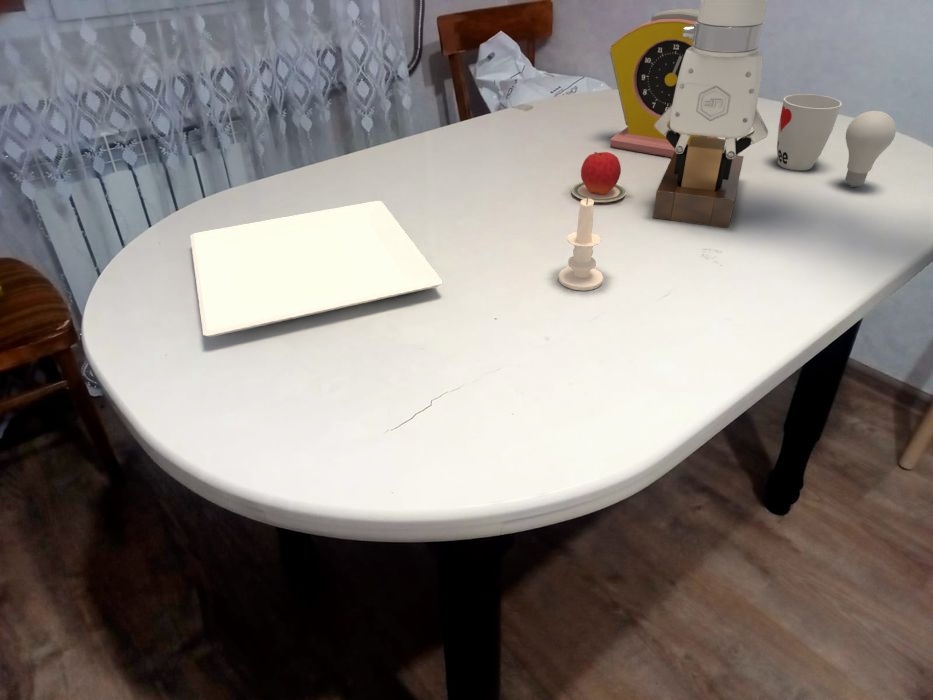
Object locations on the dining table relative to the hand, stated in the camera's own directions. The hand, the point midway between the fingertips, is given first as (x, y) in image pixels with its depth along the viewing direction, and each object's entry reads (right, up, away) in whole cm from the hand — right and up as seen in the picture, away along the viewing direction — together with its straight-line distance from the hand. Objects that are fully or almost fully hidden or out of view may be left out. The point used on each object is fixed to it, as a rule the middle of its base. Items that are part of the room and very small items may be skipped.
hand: (700, 180), depth 91 cm
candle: (-19, -15, -13) cm, 27 cm away
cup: (+21, +6, +15) cm, 27 cm away
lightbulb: (+26, +1, +8) cm, 27 cm away
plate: (-52, -14, -9) cm, 54 cm away
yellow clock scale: (+2, +12, +24) cm, 26 cm away
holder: (+2, -1, +5) cm, 6 cm away
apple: (-13, 0, +8) cm, 15 cm away
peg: (0, -2, +2) cm, 3 cm away
